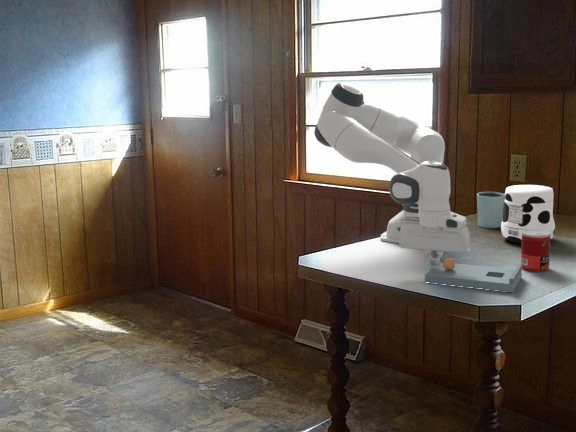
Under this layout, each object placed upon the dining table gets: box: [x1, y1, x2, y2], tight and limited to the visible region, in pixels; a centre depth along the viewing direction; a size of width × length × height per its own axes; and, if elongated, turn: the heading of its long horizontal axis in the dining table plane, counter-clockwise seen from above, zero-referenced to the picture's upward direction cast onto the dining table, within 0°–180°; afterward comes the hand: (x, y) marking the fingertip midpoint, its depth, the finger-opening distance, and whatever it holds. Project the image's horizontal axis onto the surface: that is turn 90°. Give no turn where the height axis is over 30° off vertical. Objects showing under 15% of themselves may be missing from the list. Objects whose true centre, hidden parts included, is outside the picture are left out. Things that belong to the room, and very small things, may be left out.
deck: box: [424, 261, 523, 293], centre depth 195 cm, size 24×14×4 cm, turn 63°
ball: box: [442, 257, 456, 270], centre depth 198 cm, size 4×4×4 cm
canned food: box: [520, 230, 551, 273], centre depth 203 cm, size 8×8×11 cm
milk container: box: [500, 184, 556, 244], centre depth 233 cm, size 17×17×18 cm
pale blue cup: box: [476, 191, 505, 229], centre depth 257 cm, size 10×10×12 cm
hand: (433, 264), depth 200 cm, fingers closed
